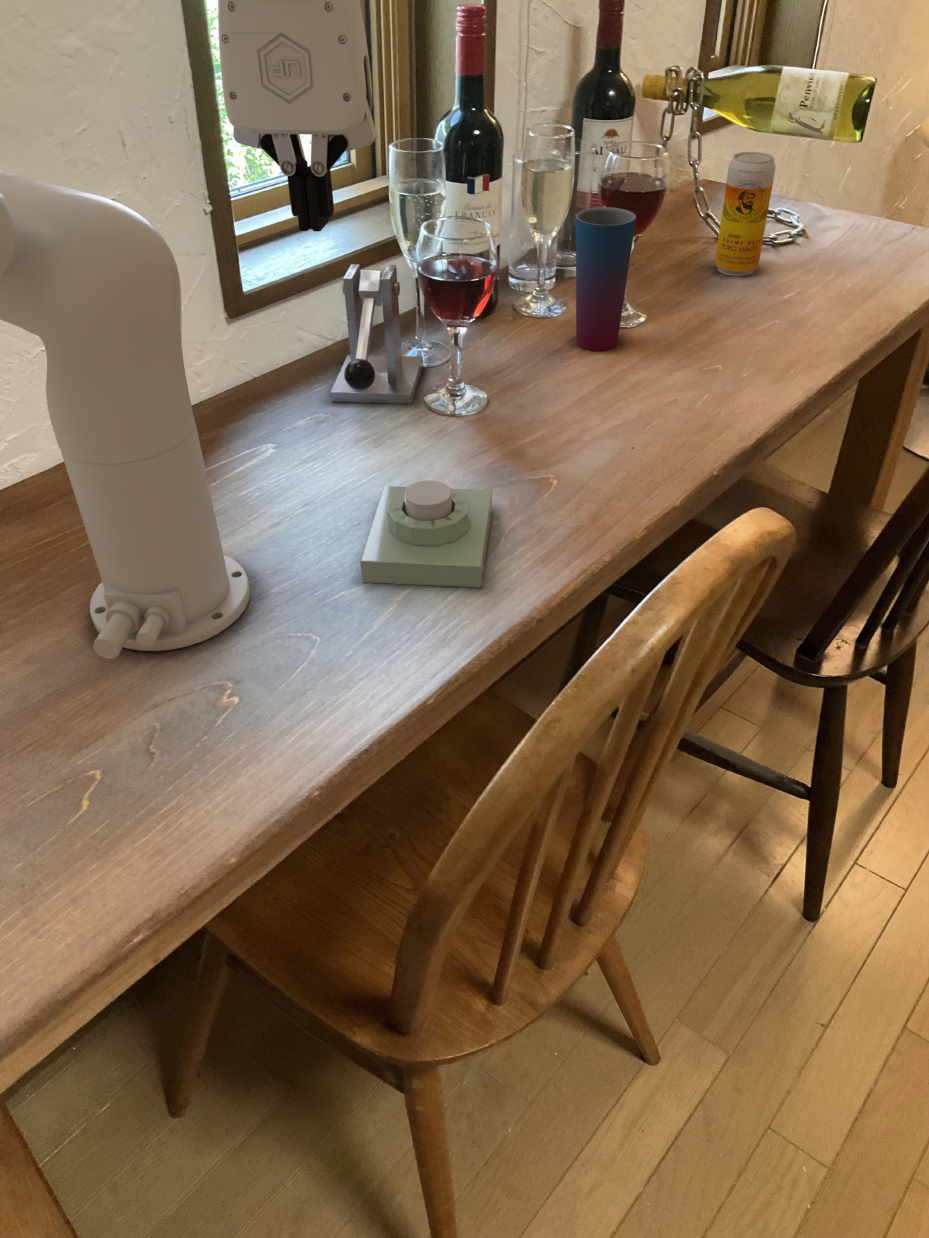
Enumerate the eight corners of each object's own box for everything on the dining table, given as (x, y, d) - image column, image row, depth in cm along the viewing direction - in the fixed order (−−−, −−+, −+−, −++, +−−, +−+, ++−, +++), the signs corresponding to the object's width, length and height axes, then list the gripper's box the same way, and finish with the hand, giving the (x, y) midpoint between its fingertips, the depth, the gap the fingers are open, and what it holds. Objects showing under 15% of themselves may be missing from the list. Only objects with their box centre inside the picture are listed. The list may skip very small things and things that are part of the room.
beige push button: (449, 523, 81) (448, 505, 80) (402, 521, 81) (401, 504, 80) (454, 498, 84) (453, 481, 83) (409, 496, 84) (407, 479, 83)
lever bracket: (411, 404, 106) (405, 289, 98) (331, 401, 107) (318, 287, 99) (423, 366, 114) (418, 256, 106) (348, 364, 114) (337, 255, 106)
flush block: (481, 588, 80) (480, 548, 77) (362, 582, 80) (358, 543, 78) (492, 510, 89) (492, 472, 86) (385, 506, 90) (382, 468, 87)
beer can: (714, 276, 135) (731, 162, 126) (713, 262, 140) (729, 150, 131) (758, 278, 135) (779, 163, 125) (755, 263, 139) (775, 151, 130)
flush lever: (375, 396, 100) (370, 378, 97) (345, 396, 101) (339, 378, 98) (389, 287, 105) (385, 267, 102) (360, 287, 105) (355, 267, 102)
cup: (627, 354, 115) (639, 224, 106) (570, 354, 116) (577, 225, 106) (621, 331, 121) (632, 206, 111) (567, 332, 121) (573, 207, 111)
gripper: (155, -53, 62) (207, 238, 74) (382, -55, 60) (398, 244, 72) (196, -62, 68) (238, 210, 79) (404, -63, 66) (416, 215, 78)
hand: (314, 225), depth 76 cm, fingers closed
